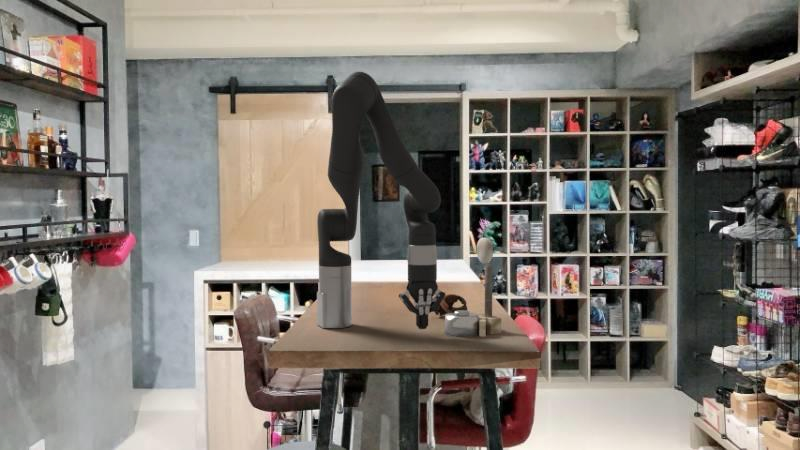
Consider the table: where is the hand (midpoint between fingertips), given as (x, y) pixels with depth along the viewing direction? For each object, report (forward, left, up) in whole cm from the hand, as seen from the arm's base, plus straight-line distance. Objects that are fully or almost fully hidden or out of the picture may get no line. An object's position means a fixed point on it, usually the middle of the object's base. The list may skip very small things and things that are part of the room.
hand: (422, 328), depth 167 cm
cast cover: (+12, 0, -2) cm, 12 cm away
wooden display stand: (+18, 0, -2) cm, 18 cm away
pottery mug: (+18, +22, -3) cm, 29 cm away
